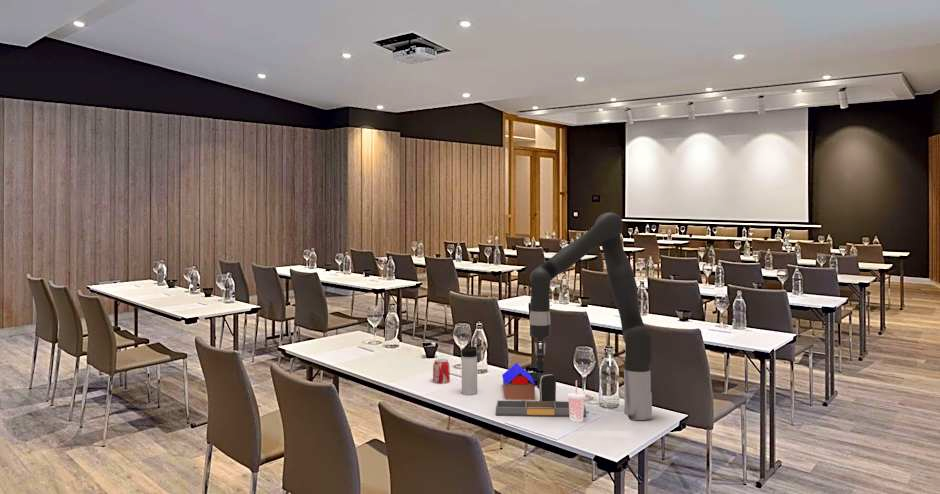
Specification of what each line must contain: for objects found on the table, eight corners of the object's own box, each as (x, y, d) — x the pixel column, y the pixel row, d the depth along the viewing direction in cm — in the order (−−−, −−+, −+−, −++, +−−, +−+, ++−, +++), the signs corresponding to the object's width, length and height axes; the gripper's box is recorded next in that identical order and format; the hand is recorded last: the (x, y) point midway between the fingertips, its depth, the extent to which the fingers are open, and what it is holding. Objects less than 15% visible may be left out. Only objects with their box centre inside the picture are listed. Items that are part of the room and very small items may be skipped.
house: (530, 390, 274) (530, 362, 274) (535, 402, 254) (535, 372, 254) (502, 390, 274) (502, 363, 274) (504, 402, 254) (504, 372, 254)
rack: (583, 409, 242) (583, 401, 242) (586, 417, 232) (585, 408, 232) (497, 408, 245) (497, 400, 245) (495, 415, 235) (495, 407, 235)
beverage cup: (576, 423, 224) (576, 382, 224) (563, 419, 229) (563, 379, 229) (589, 420, 227) (588, 380, 227) (576, 416, 232) (576, 377, 232)
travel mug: (481, 397, 263) (480, 347, 262) (469, 400, 258) (469, 349, 258) (469, 394, 267) (469, 345, 267) (458, 397, 262) (458, 347, 262)
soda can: (449, 390, 275) (449, 361, 275) (432, 390, 275) (432, 362, 275) (450, 386, 282) (449, 358, 282) (433, 386, 282) (433, 359, 282)
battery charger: (550, 401, 254) (550, 372, 254) (556, 403, 251) (556, 374, 251) (536, 404, 250) (535, 374, 250) (542, 406, 247) (542, 376, 247)
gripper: (551, 326, 230) (551, 373, 231) (549, 320, 245) (549, 365, 245) (529, 325, 231) (529, 372, 231) (529, 320, 245) (529, 365, 246)
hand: (540, 368), depth 238 cm, fingers open, 6 cm apart
